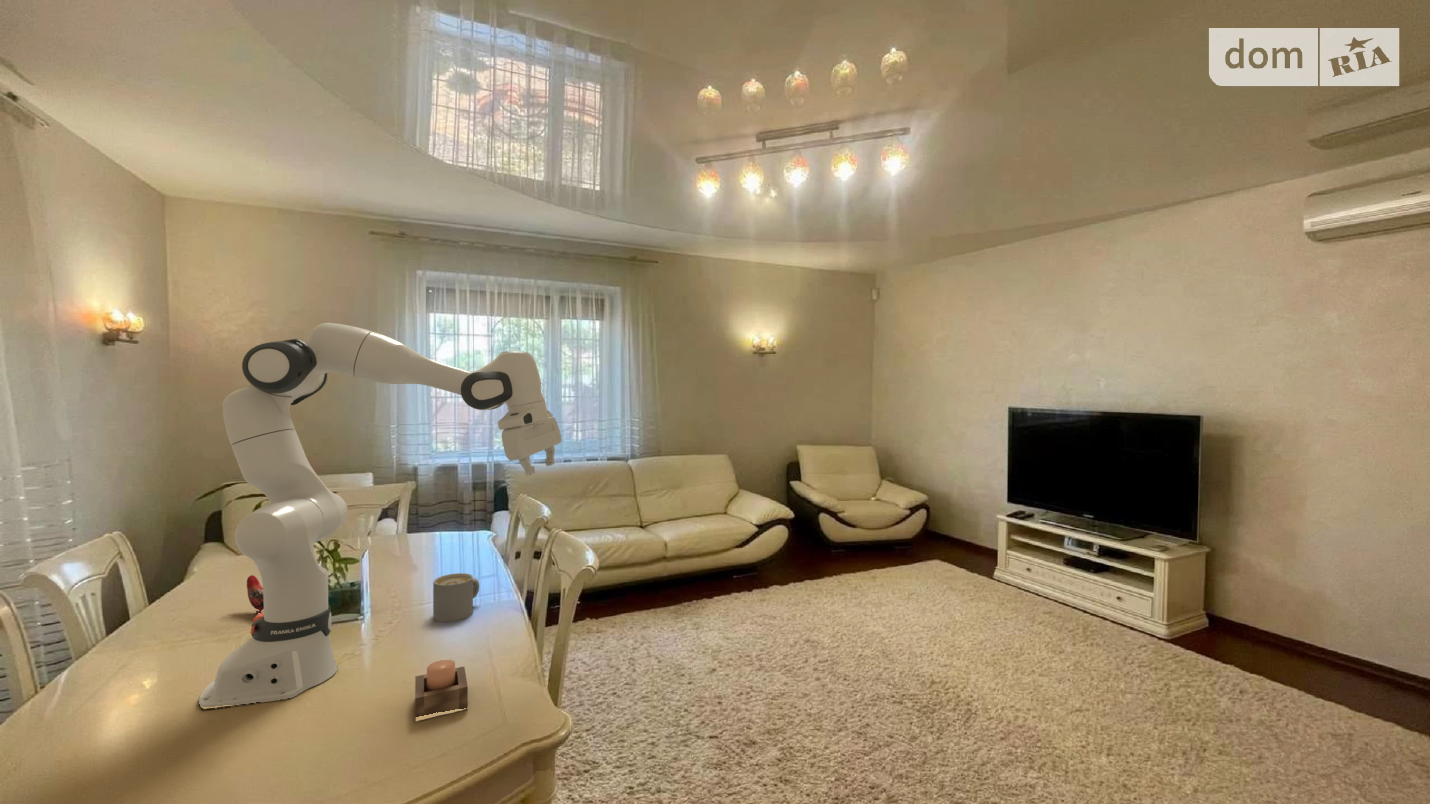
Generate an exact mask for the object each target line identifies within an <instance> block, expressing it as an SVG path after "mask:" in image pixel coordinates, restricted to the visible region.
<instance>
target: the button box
mask: <svg viewBox="0 0 1430 804" xmlns="http://www.w3.org/2000/svg"><path fill="white" fill-rule="evenodd" d="M414 682H415V683H414V691H415V692H414V718H415V717H419V716H424V715H429V714H433V713H436V712H437V713H438V712H445V711H450V710H455V709H464V708H467V707H468V704H469V703H468V701H469V700H468V697H469V695H468V694H469V693H468V692H469V691H468V690H469V689H468V687H469V686H468V680H467V673H466V668H465V666H459V667H455V685H454V686H451V687H447V688H442V689H438V690H433V691H427V673H425V674H420V675H417V676H415V681H414ZM468 708H469V707H468Z"/></svg>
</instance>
